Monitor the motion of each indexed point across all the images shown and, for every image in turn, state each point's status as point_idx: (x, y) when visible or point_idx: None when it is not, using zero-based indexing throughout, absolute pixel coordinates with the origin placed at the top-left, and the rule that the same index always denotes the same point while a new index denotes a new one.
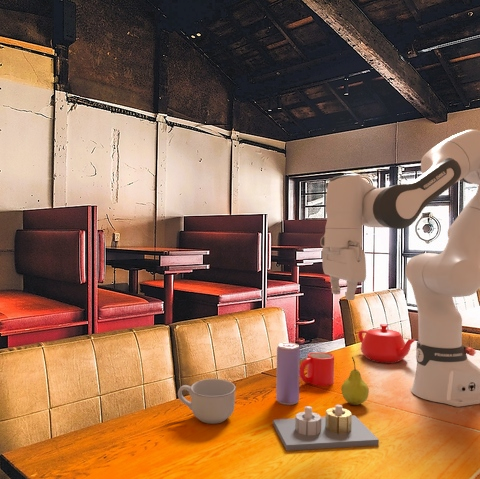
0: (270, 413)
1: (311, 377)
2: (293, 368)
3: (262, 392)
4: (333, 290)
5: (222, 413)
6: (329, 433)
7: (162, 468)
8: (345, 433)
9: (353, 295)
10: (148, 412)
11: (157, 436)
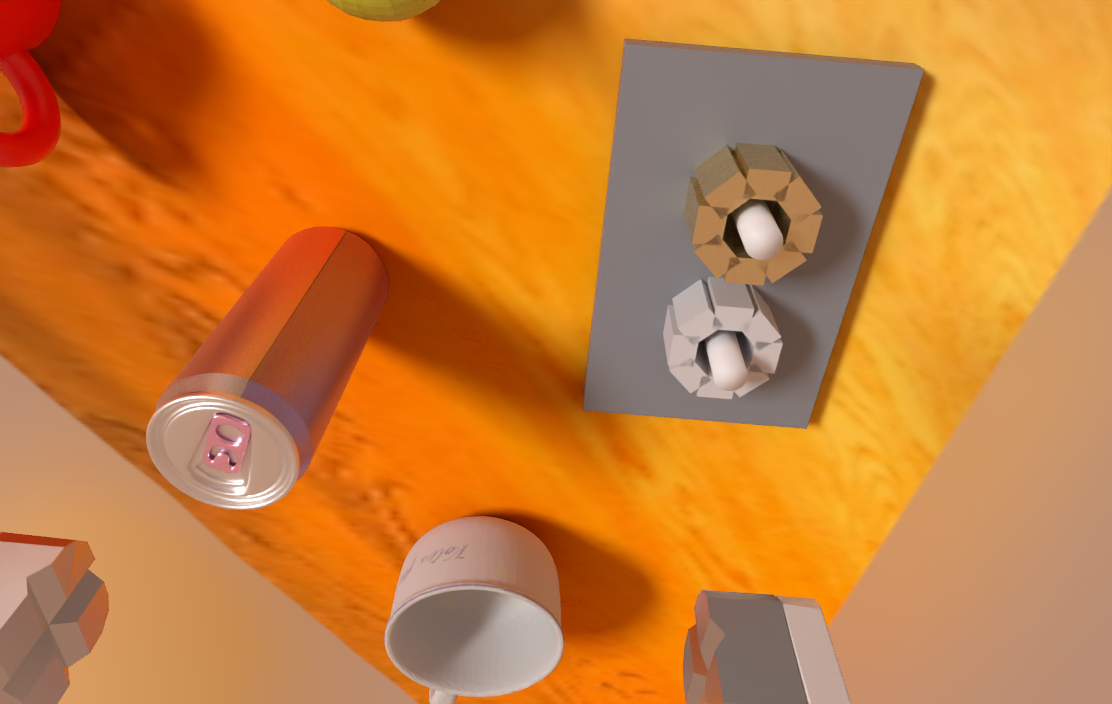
0: (470, 376)
1: (9, 55)
2: (338, 365)
3: None
4: (60, 673)
5: (556, 571)
6: None
7: None
8: None
9: (829, 671)
10: None
11: (587, 670)
